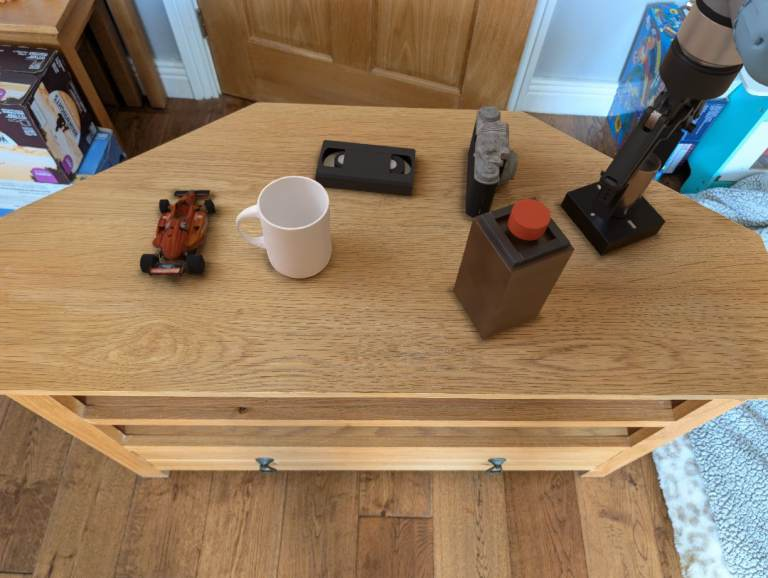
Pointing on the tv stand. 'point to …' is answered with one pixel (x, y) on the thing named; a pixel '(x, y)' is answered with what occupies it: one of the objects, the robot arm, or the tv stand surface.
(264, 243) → the mug
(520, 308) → the pillar
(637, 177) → the dial
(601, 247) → the dial panel
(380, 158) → the vhs tape
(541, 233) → the press knob
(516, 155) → the camera
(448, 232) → the tv stand surface
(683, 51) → the robot arm
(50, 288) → the tv stand surface
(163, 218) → the toy car
